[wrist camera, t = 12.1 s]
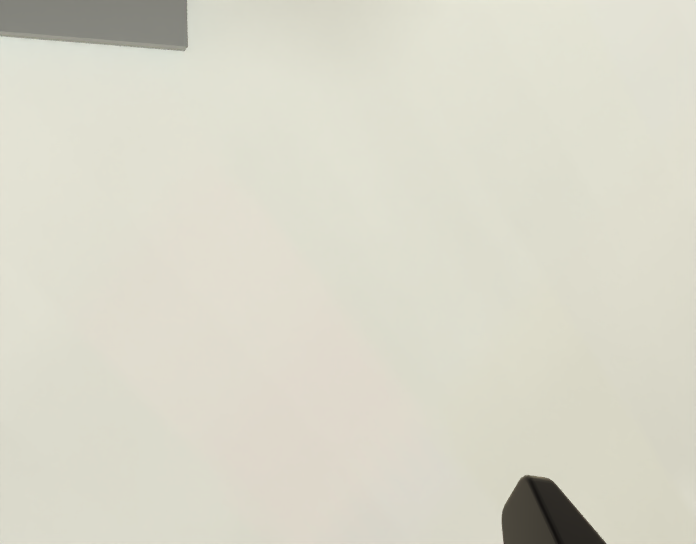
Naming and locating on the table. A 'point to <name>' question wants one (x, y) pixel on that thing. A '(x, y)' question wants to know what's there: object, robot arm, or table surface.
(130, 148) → the table surface
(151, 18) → the placemat
